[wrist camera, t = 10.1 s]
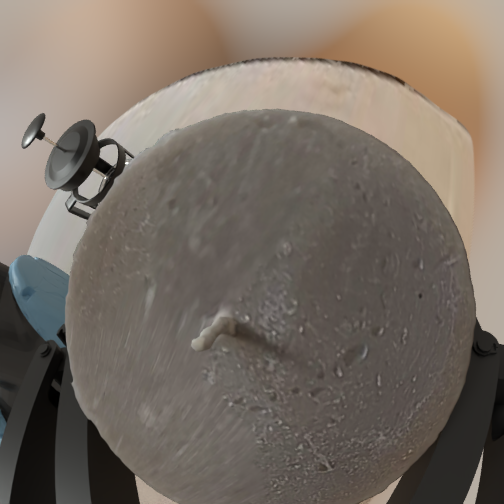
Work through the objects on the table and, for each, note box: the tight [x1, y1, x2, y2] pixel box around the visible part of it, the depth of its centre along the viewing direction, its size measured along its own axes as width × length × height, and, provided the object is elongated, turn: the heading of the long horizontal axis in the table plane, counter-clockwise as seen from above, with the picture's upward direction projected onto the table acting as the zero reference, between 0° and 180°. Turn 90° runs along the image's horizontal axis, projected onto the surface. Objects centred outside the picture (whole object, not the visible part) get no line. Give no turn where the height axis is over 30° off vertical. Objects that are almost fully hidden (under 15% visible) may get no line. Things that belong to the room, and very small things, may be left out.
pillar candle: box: [65, 109, 476, 504], centre depth 11 cm, size 10×10×15 cm
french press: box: [22, 113, 135, 220], centre depth 30 cm, size 12×9×23 cm
